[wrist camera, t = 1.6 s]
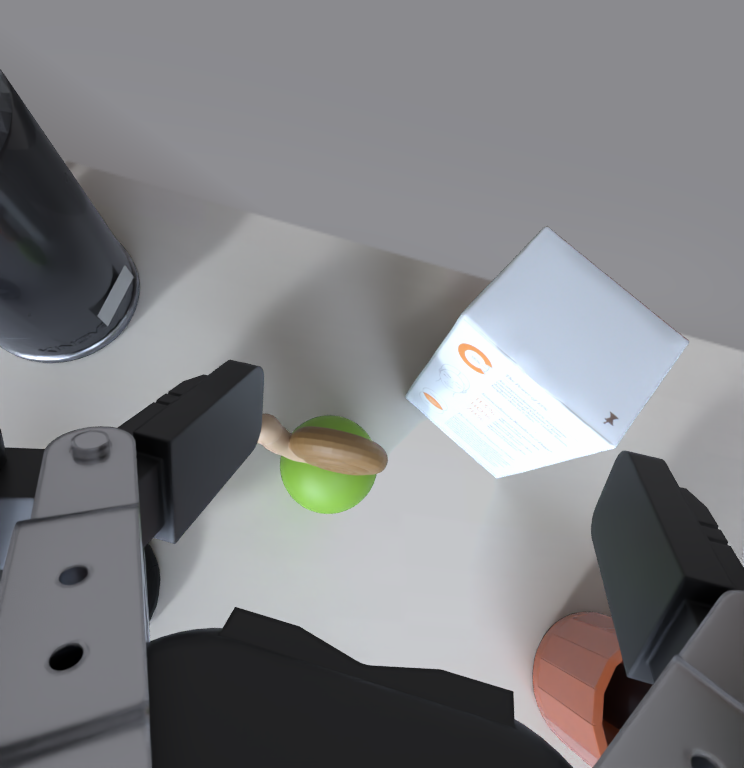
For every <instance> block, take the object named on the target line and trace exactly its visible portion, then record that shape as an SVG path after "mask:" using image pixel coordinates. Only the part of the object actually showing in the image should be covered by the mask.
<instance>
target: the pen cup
mask: <svg viewBox="0 0 744 768" xmlns="http://www.w3.org/2000/svg"><path fill="white" fill-rule="evenodd" d="M620 663H622V664H624V663H623V659H622V655H621V651H620V647H619V643H618V639H617V635H616V631H615V627H614V623H613V620H612V616H608V615H605V614H601V613H597V612H578V613H574V614H571V615H568V616H566V617H564V618H562V619H561V620H559V621H558V622H556V623H555V624H554V625H553V626H552V627H551V628H550V629H549V630H548V632H547V633H546V634H545V635H544V637H543V639H542V641H541V642H540V645H539V647H538V649H537V652H536V656H535V660H534V666H533V687H534V692H535V697H536V701H537V704H538V707H539V709H540V712H541V714H542V716H543V718H544V719H545V721H546V723H547V724H548V726H549V727H550V728H551V730H552V731H553V732H554V733H555V734H556V735H557V736H558V737H559V739H560V740H561V741H562V742H563V743H564V744H565V745H567V746H568V747H569V748H570V749H571V750H572V751H573V752H575V753H576V754H577V755H578V756H579V757H580V758H582V759H583V760H584V761H585V762H586V763H587V764H588V765H590V766H591V767H592V768H593V766H594V765H595V764H596V762H597V761H598V759H599V758H600V757H601V755H602V754H603V753H604V751H605V750H606V748H607V747H608V746H609V744H610V743H611V742H612V740H613V739H614V737H615V736H616V735H617V733H618V732H619V731H620V730H619V729H617V728H616V727H614V726H613V725H611V724H610V723H608V722H607V721H605V720H604V719H603V703H604V692H605V690H606V688H607V686H608V684H609V681H610V679H611V677H612V675H613V672H614V670H615V668H616V666H617V665H618V664H620Z"/></svg>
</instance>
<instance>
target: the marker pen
mask: <svg viewBox="0 0 744 768" xmlns="http://www.w3.org/2000/svg"><path fill="white" fill-rule="evenodd" d="M652 685H653V684H649V683H646V682H642V681H639V680H635V679H632V678H629V677H627V675H626V671H625V667H624V664H622V663H620V664H618V665H617V666H616V668H615V670H614V672H613V675H612V677H611V679H610V681H609V684H608V686H607V688H606V690H605V692H604V703H603V719H604V720H605V721H607V722H608V723H610V724H611V725H613V726H614V727H616V728H617V729H619V730H620V729H621V728H622V726H623V725H624V724H625V722H626V721H627V720H628V718H629V717H630V716H631V714H632V713H633V711H634V710H635V709H636V707H637V706H638V705H639V703H640V702H641V700H642V699H643V698H644V696H645V695H646V694H647V692H648V691H649V689H650V688H651V687H652Z"/></svg>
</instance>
